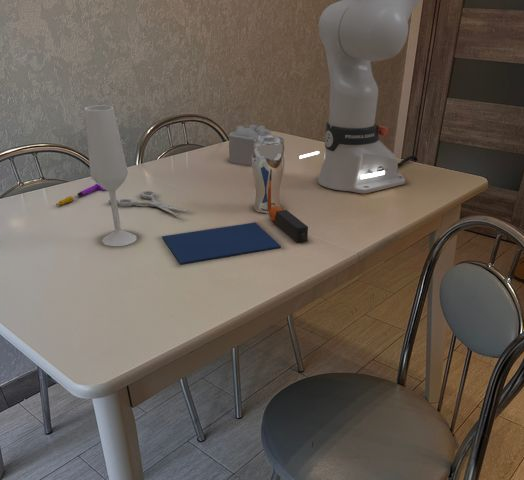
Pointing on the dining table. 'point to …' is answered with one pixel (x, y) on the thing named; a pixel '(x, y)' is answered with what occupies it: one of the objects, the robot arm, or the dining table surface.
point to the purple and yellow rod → (80, 194)
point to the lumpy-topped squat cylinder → (244, 143)
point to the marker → (289, 224)
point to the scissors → (153, 203)
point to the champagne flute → (107, 163)
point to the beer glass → (267, 171)
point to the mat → (219, 243)
